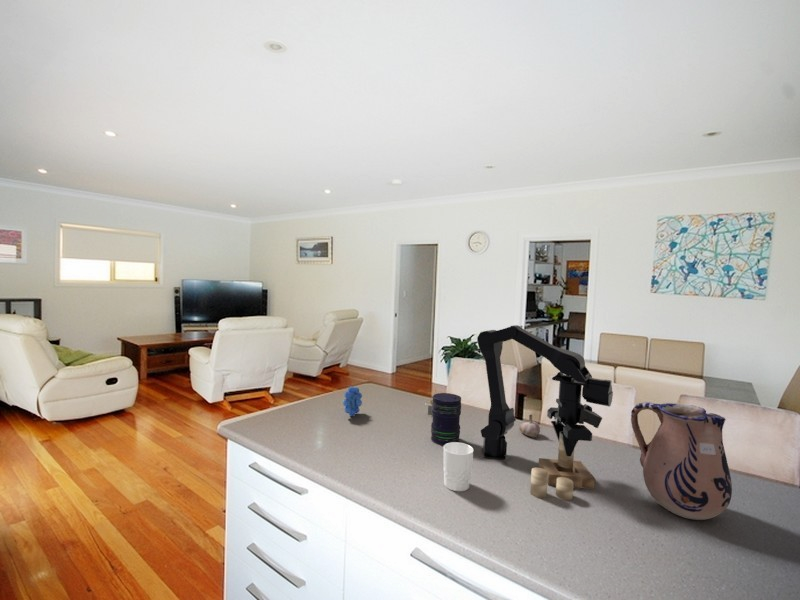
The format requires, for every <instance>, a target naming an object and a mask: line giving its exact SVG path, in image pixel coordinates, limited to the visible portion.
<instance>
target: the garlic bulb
mask: <svg viewBox="0 0 800 600" xmlns="http://www.w3.org/2000/svg"><path fill="white" fill-rule="evenodd" d="M518 429H519V432H520V433H522V434H524V435H526V436H528V437H531V438H537V436H538V434H540V433H541V427H540V424H538V423H537V422H535V421H533V413H529V414H528V421H527V422H526V421H525V422H523V423H522V422H521V423H520V425H519V428H518Z"/></svg>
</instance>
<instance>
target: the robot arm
mask: <svg viewBox="0 0 800 600" xmlns="http://www.w3.org/2000/svg"><path fill="white" fill-rule="evenodd" d="M476 338H477V339H476V341H477V345H478V348H479V352H480V354H481V355H482V357H483V359H484V361H485V369H486V376H487V384H488V389H489V398H490V399H489V400H490V406H489V407H490V408H489V412H488V419H487V420H488V421H487V422H488V424H487V425H485V426H484V427H483V428H481V429H480V434H481V437H482V438H483V441H482V443H483V445H482V447H481V451H482V454H483V458H485V459H495V460H506V459H507V457H506V455H507V449H508V448H507V447H508V442H507V440H506V436H505V435H507V434H508V432H509V431H510V430H512V429H513V427H514V426H515V422H516V417H515V409H514V407H509V405H508V403H507V399H506V398H507V397H506V391H505V385H504V377H503V370H502V369H503V368H502V363H501V362H502V361H501V355H502V351H503V345H504V344H503V343H504V342H507V341H508V342H509V341H511V340H513V341H515V342H517V343H519V344H520V345H523V346H524V347H526V348H527V349H529V350H531V351H532V352H534V353H536V354H538V355H540V356H542V357H543V358H545V359H546V360H548V362H549V363H551V365H553V367H554V368H556V369H557V370H558V371H559V372H557V373H556V374H555V376H553V377H552V378H551V380H552V381H556V382H559V386H558V387H559V388H558V398H556V399H555V403H556V404H557V407H550V408H548V409H547V413H546V416H547V418H548V419H550V420H552V419H553V418H554V419H553V420H552V421H550V422H551V425H552V429H554V433H555V435H556V438H557V440H558V442H559V437H560V434H561V438H562V441H563V445H564V449H565V452H566V455H567V456H571V455H572V453H573V450H574V451H575V448H576V446H577V444H578V442H579V441H585V442H591V441H593V433H592V431H591V430H589V428H587V426H586V425H584V424H585V423H586V424H588V425H590V426H593V428H596V429H599V428H600V427H599V426H600V425H601V422H602V420H603V417H602V416H600V415H599V414H598V413H597V412H595V411H593V407H592V406H590V405H589V404H583V403H582V398H583V400H584V401H585V402H586V403H590V404H595V405H598V406H599V405H601V406H605V407H611V405H612V402H613V395H614V391H613V387H612V380H611V379H600V378H594V377H593V376H592V374H591V372H590V371H589V370H588V368H587V367H586V362H585V358H584V357H583V355H581V354H579V353H577V352H574V351H573V350H569V349H564V348H561V347H558V346H555V345H553V344H552V343H550V342H548V341H546V340H544V339H542V338H541V337H539V336H537V335H535V334H533V333H532V332H529V331H528V330H526V329H524V328H523V327H521V326H520V325H517V324H516V325H515V324H514V325H509V326H508V327H505V328H502V329H497V330H496V329H490V330H483V331H481V332H480V333H479V334H478V335H477V337H476ZM561 431H563V432H561Z"/></svg>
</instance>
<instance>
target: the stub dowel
mask: <svg viewBox="0 0 800 600" xmlns="http://www.w3.org/2000/svg"><path fill="white" fill-rule="evenodd" d="M555 496H556V497H557V498H559V499H560V500H563V501H571V500H573V496H574V487H573V481H572V480H570V479H568V478H565V477H558V478H557V483H556V486H555Z"/></svg>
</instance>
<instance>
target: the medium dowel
mask: <svg viewBox="0 0 800 600" xmlns="http://www.w3.org/2000/svg"><path fill="white" fill-rule="evenodd" d="M530 474H531V475H530V487H529V488H530V489H529V493H530V495H531V496H533V497H535V498H537V499H546V498H547V494H548V484H547V480H548V472H547V471H546V470H545V469H542V468H538V467H532V468H531V473H530Z"/></svg>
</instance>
